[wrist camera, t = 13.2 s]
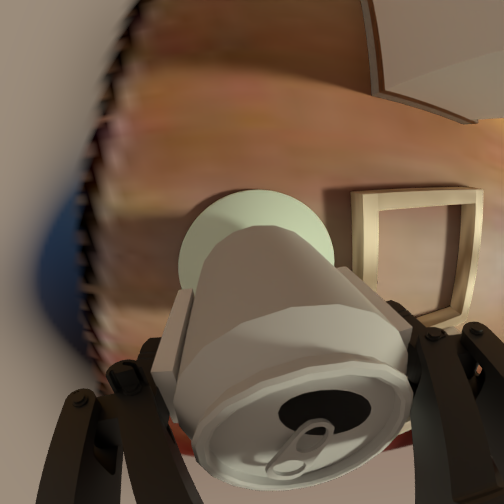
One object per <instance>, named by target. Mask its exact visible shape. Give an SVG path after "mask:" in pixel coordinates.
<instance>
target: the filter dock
mask: <svg viewBox="0 0 504 504" xmlns="http://www.w3.org/2000/svg"><path fill="white" fill-rule="evenodd" d="M350 194H351V214H352V272H353V273H354V274H355V275H357V276H358V277H359V278H360V279H361V280H362V281H363V282H364V283H366V284H367V285H368V286H369V287H370V288H371V289H372V290H373V291H374V292H376V291H377V274H378V244H379V216H378V211H382V210H393V209H404V208H416V207H429V206H442V205H456V204H461V228H460V241H459V252H458V261H457V269H456V276H455V282H454V288H453V294H452V299H451V304H450V307H447V308H444V309H441V310H438V311H435V312H432V313H429V314H426V315H423V316H420V317H417V319H418V320H419V321H420V322H421V323H422V324H423V325H424V326H425V327H437V328H441V329H443V330H444V331H446V333H447V334H448V335H455V334H461V332H460V331H458V330H457V329H456V328H455V326H458V325H460V324H462V323H465V322H466V320H467V316H468V312H469V308H470V304H471V299H472V294H473V289H474V284H475V279H476V273H477V266H478V259H479V251H480V243H481V232H482V217H483V189H478V188H472V187H431V188H404V189H384V190H367V191H353V192H350ZM411 429H412V428H411V419H410V415H409V417H408V419H407V420H406V422H405V424H404V426H403V427H402V429H401V431H400V433H399V434H402V433H404V432H406V431H409V430H411ZM399 434H398V435H399Z"/></svg>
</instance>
